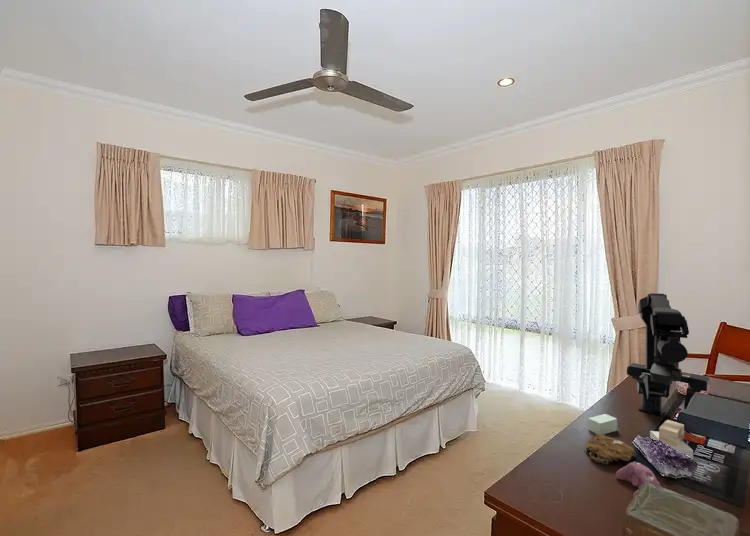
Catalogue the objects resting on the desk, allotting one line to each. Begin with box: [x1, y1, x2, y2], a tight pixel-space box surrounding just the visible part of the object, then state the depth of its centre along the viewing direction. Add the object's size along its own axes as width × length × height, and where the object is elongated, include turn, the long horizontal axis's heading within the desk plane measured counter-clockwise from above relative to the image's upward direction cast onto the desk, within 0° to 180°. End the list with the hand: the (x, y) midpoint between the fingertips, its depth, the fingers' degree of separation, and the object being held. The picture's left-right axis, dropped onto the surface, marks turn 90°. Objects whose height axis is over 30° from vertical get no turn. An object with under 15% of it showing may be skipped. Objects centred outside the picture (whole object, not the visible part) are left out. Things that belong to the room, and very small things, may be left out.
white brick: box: [649, 430, 694, 459], centre depth 104 cm, size 10×6×3 cm, turn 165°
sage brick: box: [587, 413, 618, 435], centre depth 116 cm, size 8×4×4 cm, turn 112°
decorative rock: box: [584, 433, 636, 465], centre depth 101 cm, size 11×4×15 cm
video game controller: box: [615, 461, 661, 498], centre depth 86 cm, size 10×5×7 cm, turn 170°
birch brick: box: [658, 419, 685, 447], centre depth 105 cm, size 8×4×4 cm, turn 128°
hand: (665, 403), depth 108 cm, fingers open, 9 cm apart
